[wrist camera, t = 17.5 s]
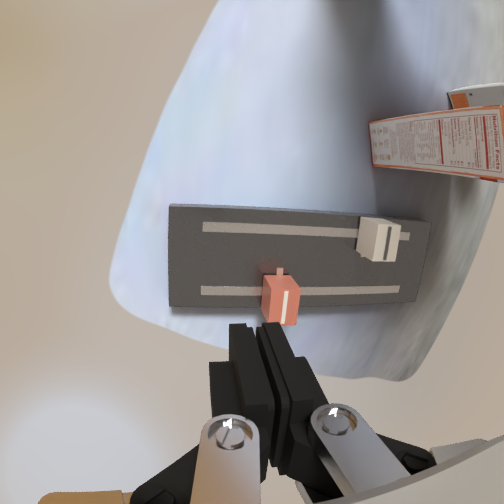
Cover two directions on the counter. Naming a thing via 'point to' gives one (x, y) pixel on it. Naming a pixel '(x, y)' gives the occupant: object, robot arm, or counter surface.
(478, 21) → the counter surface
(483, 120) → the cracker box
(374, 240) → the block
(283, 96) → the counter surface
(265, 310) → the rust fader
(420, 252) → the console
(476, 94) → the skincare box
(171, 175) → the counter surface
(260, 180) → the counter surface
